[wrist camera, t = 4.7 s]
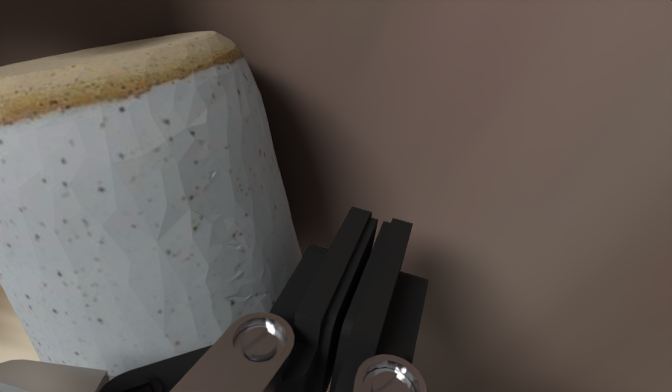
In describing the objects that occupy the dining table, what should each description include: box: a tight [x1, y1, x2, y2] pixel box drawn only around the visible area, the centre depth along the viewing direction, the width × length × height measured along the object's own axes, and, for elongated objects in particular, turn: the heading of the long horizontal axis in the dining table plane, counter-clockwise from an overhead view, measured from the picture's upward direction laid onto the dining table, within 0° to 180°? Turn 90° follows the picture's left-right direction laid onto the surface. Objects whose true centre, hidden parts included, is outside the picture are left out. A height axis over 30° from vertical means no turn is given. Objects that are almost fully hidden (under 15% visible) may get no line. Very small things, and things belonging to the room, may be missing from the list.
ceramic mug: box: [0, 31, 302, 376], centre depth 12 cm, size 11×8×8 cm
